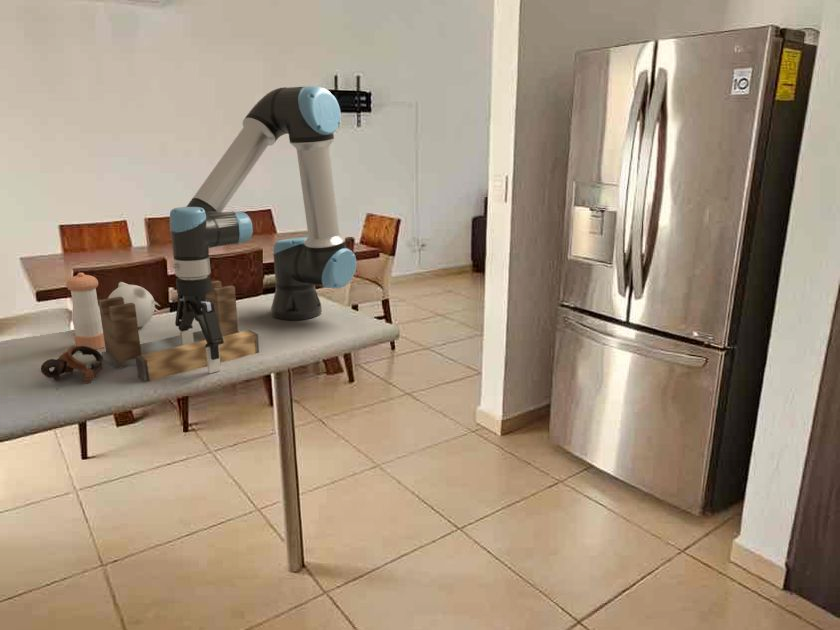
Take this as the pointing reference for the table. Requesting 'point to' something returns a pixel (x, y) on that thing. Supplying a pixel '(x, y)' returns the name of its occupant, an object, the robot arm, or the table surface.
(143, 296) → the cat head
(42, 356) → the table surface
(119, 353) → the wooden u-shaped stand
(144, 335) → the table surface
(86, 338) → the pepper shaker
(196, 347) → the bed rail
